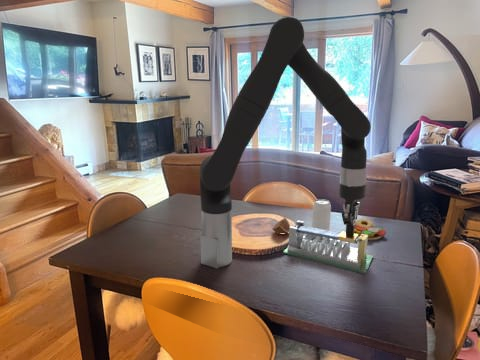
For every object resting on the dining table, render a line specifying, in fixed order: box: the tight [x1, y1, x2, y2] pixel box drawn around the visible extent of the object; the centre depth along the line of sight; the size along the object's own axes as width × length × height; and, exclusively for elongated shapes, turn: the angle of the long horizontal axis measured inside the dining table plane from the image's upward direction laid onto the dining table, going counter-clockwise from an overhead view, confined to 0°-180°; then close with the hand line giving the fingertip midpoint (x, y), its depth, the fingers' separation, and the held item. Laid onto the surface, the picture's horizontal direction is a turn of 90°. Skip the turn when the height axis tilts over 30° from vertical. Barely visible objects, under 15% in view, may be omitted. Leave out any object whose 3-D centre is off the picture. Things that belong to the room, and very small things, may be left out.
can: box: [311, 198, 332, 231], centre depth 131 cm, size 6×6×12 cm
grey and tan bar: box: [293, 224, 360, 245], centre depth 114 cm, size 21×4×2 cm, turn 60°
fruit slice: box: [271, 217, 291, 234], centre depth 131 cm, size 8×7×5 cm
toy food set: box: [354, 218, 387, 241], centre depth 131 cm, size 13×13×3 cm
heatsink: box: [282, 220, 374, 275], centre depth 114 cm, size 26×12×9 cm, turn 60°
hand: (349, 235), depth 110 cm, fingers closed
